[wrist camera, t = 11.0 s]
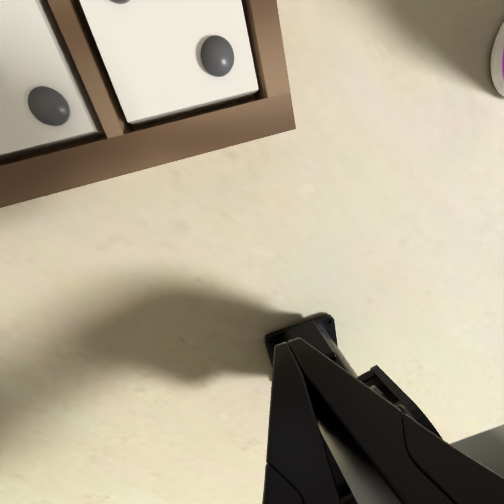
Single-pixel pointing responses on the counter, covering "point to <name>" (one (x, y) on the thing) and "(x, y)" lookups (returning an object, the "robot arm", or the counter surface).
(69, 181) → the tile panel
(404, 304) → the counter surface
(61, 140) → the tile three pips
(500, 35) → the supplement bottle
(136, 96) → the tile two pips
